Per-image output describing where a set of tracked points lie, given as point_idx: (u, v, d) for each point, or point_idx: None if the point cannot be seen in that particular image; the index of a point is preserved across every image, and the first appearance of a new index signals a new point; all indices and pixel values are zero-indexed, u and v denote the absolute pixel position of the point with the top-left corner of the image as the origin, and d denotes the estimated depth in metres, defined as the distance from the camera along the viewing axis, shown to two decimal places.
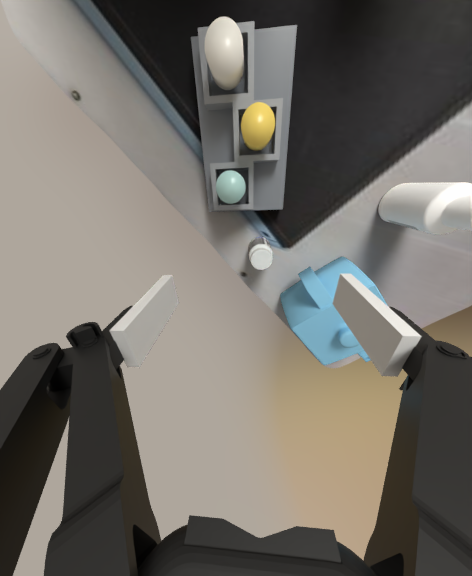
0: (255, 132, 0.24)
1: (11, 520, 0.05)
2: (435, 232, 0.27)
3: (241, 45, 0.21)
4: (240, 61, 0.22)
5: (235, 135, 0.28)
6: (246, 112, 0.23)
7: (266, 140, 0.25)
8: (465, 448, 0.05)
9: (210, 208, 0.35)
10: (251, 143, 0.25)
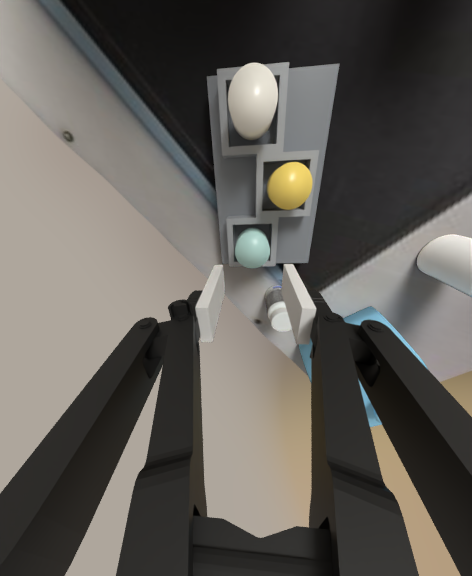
0: (286, 195, 0.20)
1: (102, 466, 0.06)
2: None
3: (275, 97, 0.16)
4: (273, 115, 0.17)
5: (258, 189, 0.23)
6: (277, 173, 0.19)
7: (300, 203, 0.20)
8: (351, 394, 0.06)
9: (224, 260, 0.31)
10: (281, 206, 0.20)
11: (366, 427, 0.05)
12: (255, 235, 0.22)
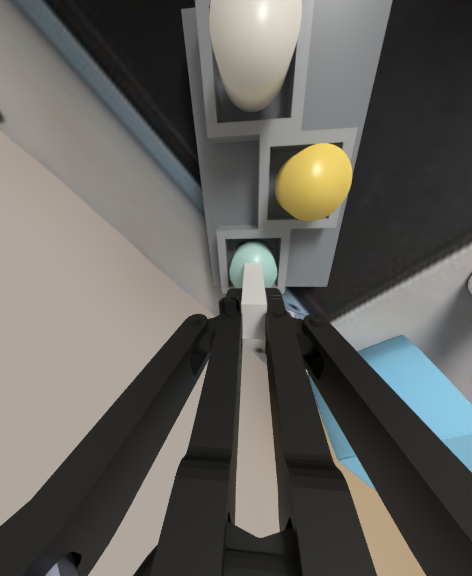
0: (308, 198, 0.12)
1: (145, 455, 0.06)
2: None
3: (297, 17, 0.09)
4: (290, 56, 0.09)
5: (262, 189, 0.16)
6: (294, 162, 0.11)
7: (328, 212, 0.13)
8: (301, 384, 0.06)
9: (215, 282, 0.23)
10: (298, 216, 0.13)
11: (315, 412, 0.06)
12: (257, 252, 0.16)
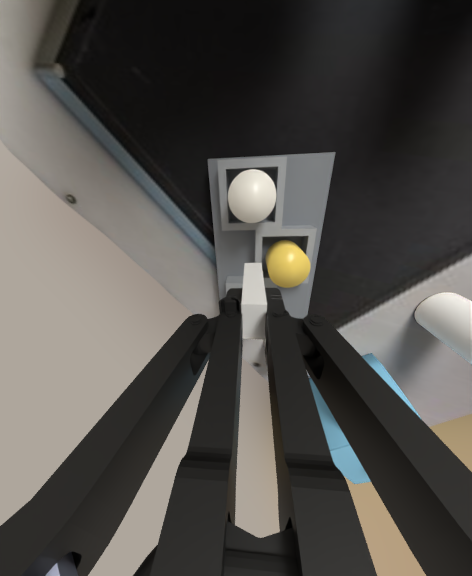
0: (285, 275, 0.20)
1: (145, 455, 0.06)
2: None
3: (274, 196, 0.17)
4: (271, 210, 0.17)
5: (257, 259, 0.23)
6: (275, 257, 0.19)
7: (298, 283, 0.20)
8: (301, 384, 0.06)
9: None
10: (279, 285, 0.21)
11: (315, 413, 0.06)
12: None
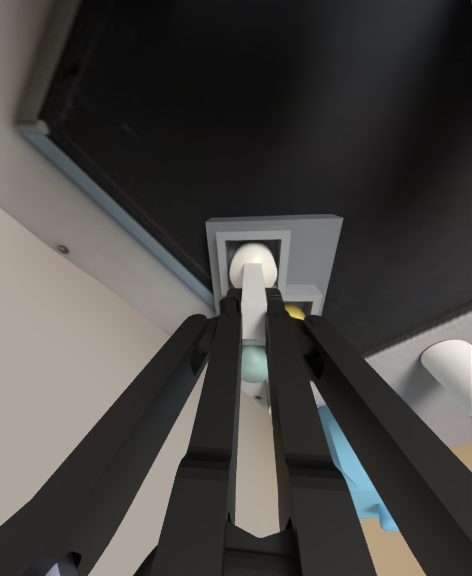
0: None
1: (145, 455, 0.06)
2: None
3: (275, 274, 0.17)
4: None
5: None
6: None
7: None
8: (301, 384, 0.06)
9: None
10: None
11: (315, 413, 0.06)
12: (255, 361, 0.23)
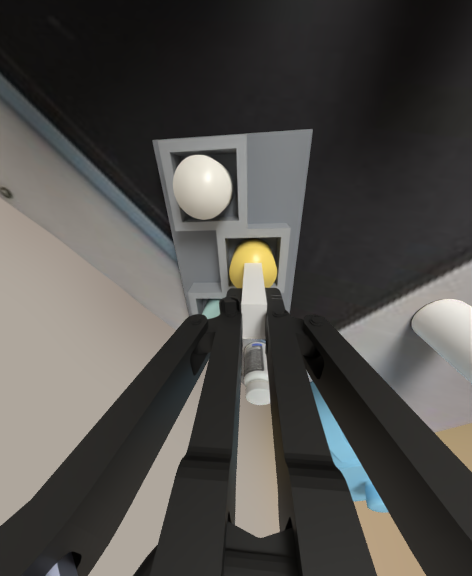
0: None
1: (145, 455, 0.06)
2: None
3: (227, 188, 0.14)
4: (226, 204, 0.15)
5: (221, 265, 0.19)
6: (236, 260, 0.16)
7: None
8: (301, 384, 0.06)
9: None
10: None
11: (315, 413, 0.06)
12: (219, 313, 0.20)
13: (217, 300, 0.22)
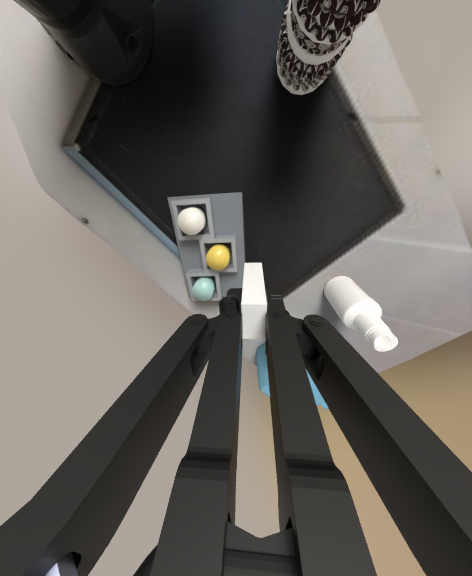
0: (215, 263, 0.35)
1: (145, 455, 0.06)
2: (353, 329, 0.36)
3: (201, 221, 0.32)
4: (201, 228, 0.33)
5: (203, 257, 0.37)
6: (208, 253, 0.35)
7: (224, 267, 0.36)
8: (301, 384, 0.06)
9: (190, 295, 0.45)
10: (214, 268, 0.36)
11: (315, 413, 0.06)
12: (202, 283, 0.38)
13: (202, 277, 0.40)
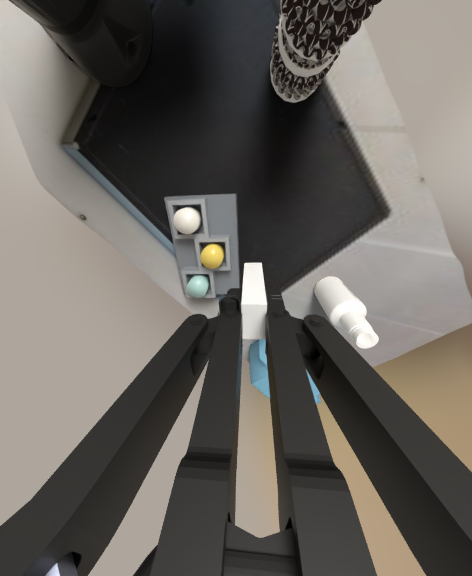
0: (209, 261, 0.37)
1: (145, 455, 0.06)
2: (340, 327, 0.38)
3: (196, 221, 0.33)
4: (196, 227, 0.34)
5: (198, 256, 0.39)
6: (203, 252, 0.36)
7: (217, 266, 0.37)
8: (301, 384, 0.06)
9: (185, 292, 0.46)
10: (208, 267, 0.37)
11: (315, 412, 0.06)
12: (197, 280, 0.39)
13: (197, 275, 0.41)
